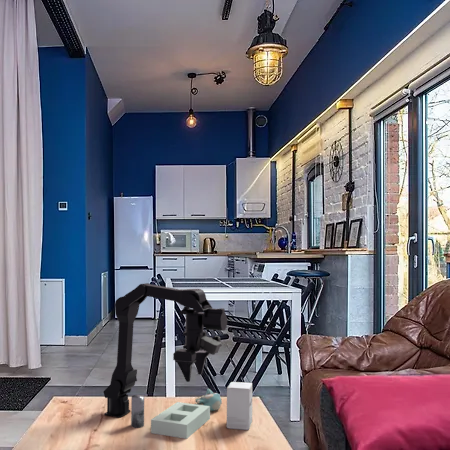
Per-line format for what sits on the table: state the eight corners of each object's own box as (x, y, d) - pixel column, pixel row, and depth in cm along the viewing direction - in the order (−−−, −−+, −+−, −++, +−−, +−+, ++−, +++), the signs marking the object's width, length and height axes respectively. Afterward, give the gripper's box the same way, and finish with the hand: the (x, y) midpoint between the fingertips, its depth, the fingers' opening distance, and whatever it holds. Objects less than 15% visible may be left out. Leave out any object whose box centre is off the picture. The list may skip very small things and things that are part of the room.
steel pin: (128, 426, 151) (129, 397, 152) (135, 422, 155) (135, 394, 155) (139, 428, 150) (140, 399, 150) (146, 424, 153) (146, 395, 154)
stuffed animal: (208, 385, 179) (228, 386, 170) (210, 405, 177) (231, 407, 168) (184, 390, 172) (204, 392, 163) (186, 411, 170) (206, 414, 161)
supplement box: (249, 430, 149) (249, 388, 149) (225, 428, 150) (226, 387, 151) (252, 422, 156) (252, 382, 156) (230, 420, 157) (230, 381, 158)
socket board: (150, 433, 146) (151, 419, 146) (177, 414, 163) (177, 402, 163) (186, 438, 142) (186, 424, 142) (210, 418, 159) (210, 406, 159)
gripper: (206, 335, 143) (206, 388, 142) (228, 325, 160) (228, 373, 160) (172, 332, 147) (172, 384, 146) (197, 323, 164) (197, 370, 164)
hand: (194, 377), depth 154 cm, fingers open, 9 cm apart
